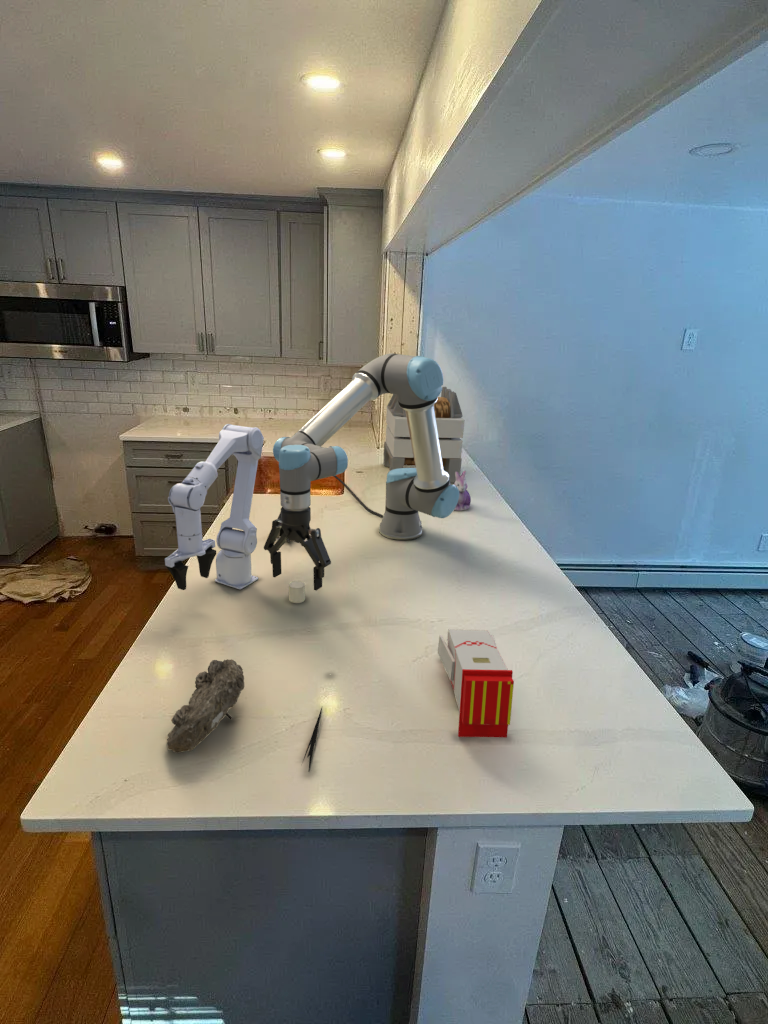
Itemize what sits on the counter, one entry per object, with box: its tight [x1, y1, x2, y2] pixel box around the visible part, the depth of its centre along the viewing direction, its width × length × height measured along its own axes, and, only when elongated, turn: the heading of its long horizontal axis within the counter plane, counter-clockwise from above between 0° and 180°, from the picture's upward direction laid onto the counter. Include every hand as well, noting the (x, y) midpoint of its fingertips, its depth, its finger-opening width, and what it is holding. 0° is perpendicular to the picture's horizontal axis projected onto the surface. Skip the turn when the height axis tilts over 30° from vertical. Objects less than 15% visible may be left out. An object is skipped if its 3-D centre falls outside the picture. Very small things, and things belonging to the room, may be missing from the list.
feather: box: [301, 673, 332, 771], centre depth 108 cm, size 2×28×2 cm
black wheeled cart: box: [276, 511, 291, 543], centre depth 192 cm, size 7×8×15 cm
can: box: [288, 580, 306, 604], centre depth 152 cm, size 4×4×4 cm
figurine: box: [453, 470, 472, 511], centre depth 227 cm, size 9×10×15 cm
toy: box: [437, 628, 515, 738], centre depth 117 cm, size 12×13×30 cm
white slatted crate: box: [383, 386, 465, 484], centre depth 268 cm, size 34×33×41 cm
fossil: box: [166, 658, 245, 754], centre depth 106 cm, size 22×10×15 cm
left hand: (193, 582), depth 141 cm, fingers open, 7 cm apart
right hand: (297, 581), depth 151 cm, fingers open, 13 cm apart
